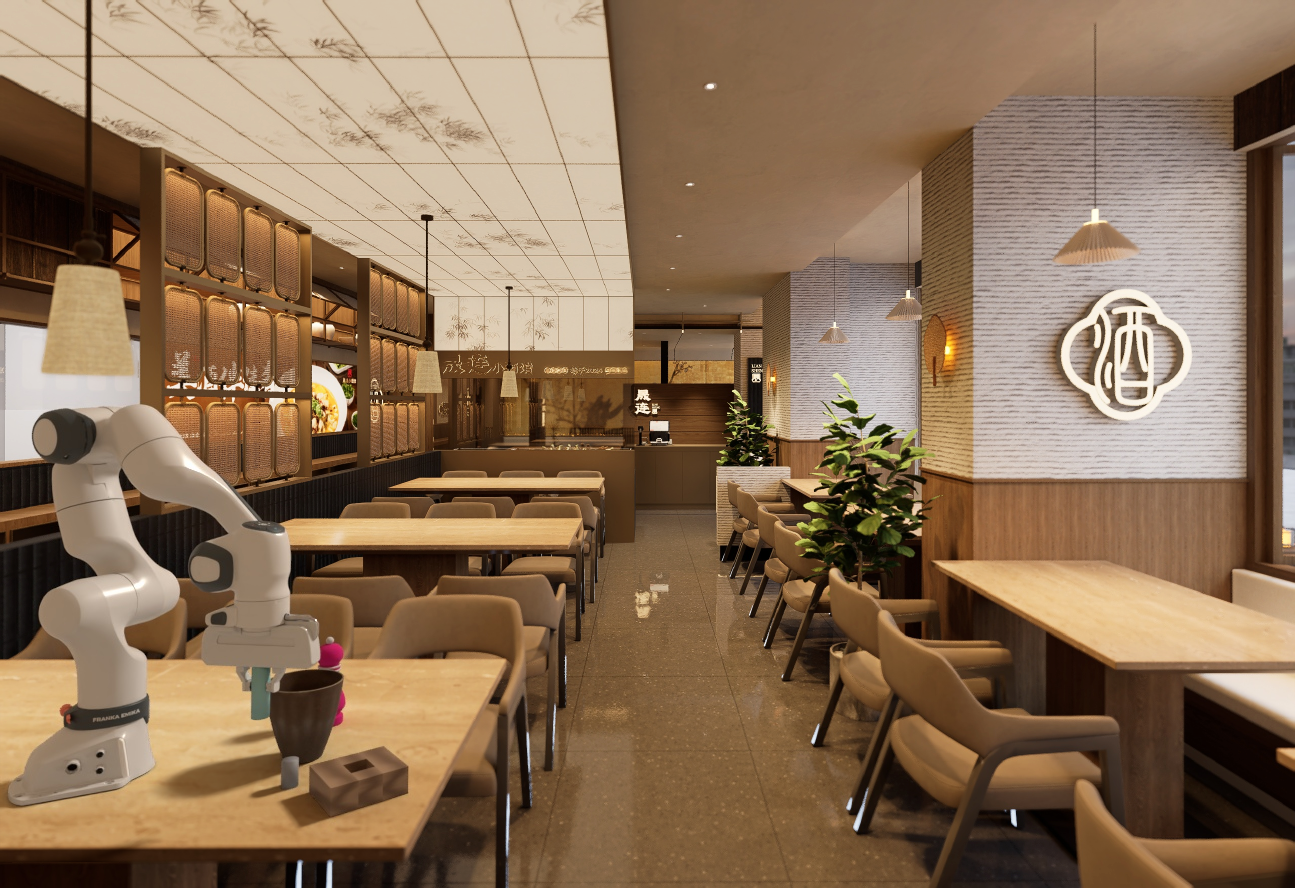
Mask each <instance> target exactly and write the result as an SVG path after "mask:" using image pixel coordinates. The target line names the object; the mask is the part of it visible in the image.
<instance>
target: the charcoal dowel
mask: <svg viewBox="0 0 1295 888" xmlns="http://www.w3.org/2000/svg"><path fill="white" fill-rule="evenodd" d="M280 763H281V765H280V789H281V790H284V791H285V790H286V791H287V790H293V789H295V788H297V787H298V786H299V775H300V773H299V771H300V770H299V768H300V766H299V757H296V756H290V757H286V758H284V759H283V758H282V759H281V762H280Z"/></svg>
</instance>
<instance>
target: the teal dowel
mask: <svg viewBox="0 0 1295 888" xmlns="http://www.w3.org/2000/svg"><path fill="white" fill-rule="evenodd" d="M271 672H272V668H266V667H251V675H250V676H251V691H250V693H251V694H250V720H252V721H262V720H266V719H268V718H270V692H266V689H267V687H266V683H267V682H269V681H270V679H271V678H272V677H271Z"/></svg>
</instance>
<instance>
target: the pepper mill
mask: <svg viewBox="0 0 1295 888" xmlns="http://www.w3.org/2000/svg"><path fill="white" fill-rule="evenodd" d="M334 642H335V638H334V637H332V636H327V638H326V639H325V643H324V644H322V645H320V660H319V661H318V662H317V663H318V665H317V669H327V670H334V671H338V672H340V671H341V670H342V664H341V663H340V662H341V661H342V659H343V658H344V656H345V655H344V654H345V653H344V648H343V647H342V646H341V645H340V644H339V643H336V642H335V643H334ZM345 707H346V696H345V693H344V691H343V689H342V692H341V697H340V702H339V706H338V710H337V714H336V718H335V721H334V724H333V727H337V726H338V725H340V724H342V723H343V722H344V713H343V712H342V711H343V710H344V709H345Z"/></svg>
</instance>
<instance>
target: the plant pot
mask: <svg viewBox="0 0 1295 888" xmlns="http://www.w3.org/2000/svg"><path fill="white" fill-rule="evenodd" d="M272 679H273V677H271V678H270V681H271V680H272ZM344 679H345V675H344V674H343V673H342V672H340V671H339V672H338V671H334V670H327V669H318V668H308V669H298V670H293V671H289V672H285V673H284V675H283V676H282V678H281V680H280V687H279V690H278V691H277V692H275V693H273V692H270V717H269V722H270V725H271V728H272V732H273V735H274V739H275V742H276V744H277V747H278V750H279V752H280V756H281V757H282V759H284V758H286V757H290V756H296V757H299V764H302V765H303V764H306V763H307V764H308V763H310V762H313V761H317V760H319V758H322V755H323V754H324V751H325V749H326V746H327V745H328V741H329V738H330V736H331V733H332V730H333V728H334V726H333V724H334V721H335V718H336V714H337V710H338V706H339V702H340V697H341V692H342V690H343V687H344Z"/></svg>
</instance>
